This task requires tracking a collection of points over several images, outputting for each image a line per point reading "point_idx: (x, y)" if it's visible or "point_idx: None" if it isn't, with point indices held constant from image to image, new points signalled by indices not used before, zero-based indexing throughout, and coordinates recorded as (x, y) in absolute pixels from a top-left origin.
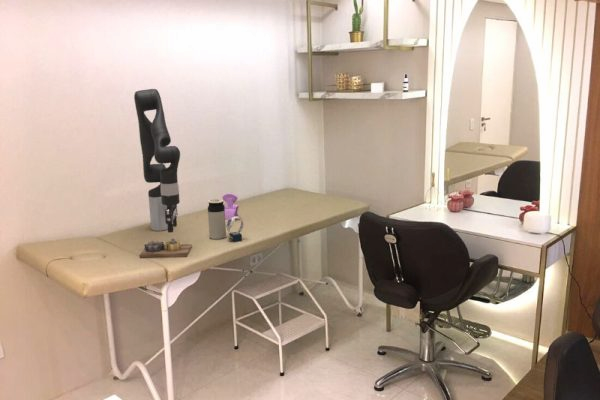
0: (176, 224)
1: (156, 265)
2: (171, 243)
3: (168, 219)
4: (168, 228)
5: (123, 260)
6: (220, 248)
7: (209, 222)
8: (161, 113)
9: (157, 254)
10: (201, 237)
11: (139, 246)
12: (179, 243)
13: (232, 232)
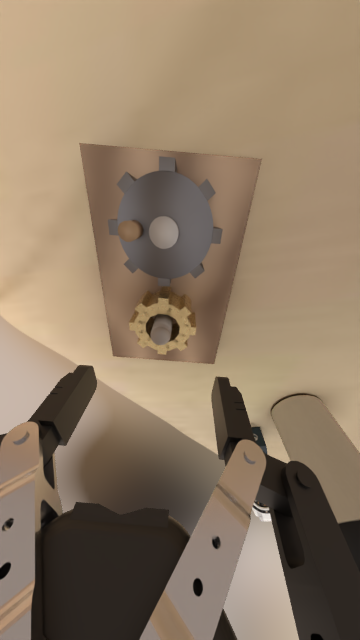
0: (213, 409)
1: (10, 260)
2: (155, 321)
3: (40, 473)
4: (51, 392)
5: (30, 9)
6: (185, 411)
7: (322, 454)
8: None
9: (98, 254)
10: (318, 375)
11: (330, 85)
12: (158, 348)
13: (266, 450)
